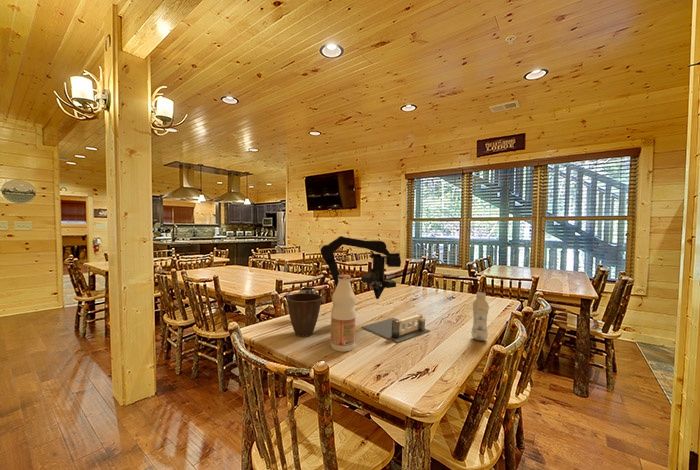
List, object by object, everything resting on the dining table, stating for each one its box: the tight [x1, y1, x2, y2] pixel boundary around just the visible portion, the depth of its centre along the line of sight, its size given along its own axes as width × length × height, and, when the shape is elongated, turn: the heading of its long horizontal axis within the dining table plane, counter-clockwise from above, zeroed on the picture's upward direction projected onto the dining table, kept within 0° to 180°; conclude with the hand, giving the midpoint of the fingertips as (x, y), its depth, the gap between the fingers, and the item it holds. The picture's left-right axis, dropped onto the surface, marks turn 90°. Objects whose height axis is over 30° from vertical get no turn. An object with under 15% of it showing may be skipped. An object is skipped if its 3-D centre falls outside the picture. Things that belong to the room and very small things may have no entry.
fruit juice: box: [330, 274, 357, 353], centre depth 111 cm, size 9×9×28 cm
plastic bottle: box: [470, 291, 490, 342], centre depth 122 cm, size 6×7×20 cm
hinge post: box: [391, 319, 400, 339], centre depth 121 cm, size 3×3×8 cm
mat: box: [361, 317, 430, 344], centre depth 132 cm, size 22×22×1 cm
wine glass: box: [299, 286, 316, 294], centre depth 145 cm, size 8×8×15 cm
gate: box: [398, 313, 423, 336], centre depth 128 cm, size 16×2×6 cm, turn 129°
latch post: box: [418, 317, 427, 332], centre depth 130 cm, size 2×2×6 cm
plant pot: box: [286, 292, 322, 338], centre depth 125 cm, size 15×15×16 cm
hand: (377, 298), depth 139 cm, fingers closed
